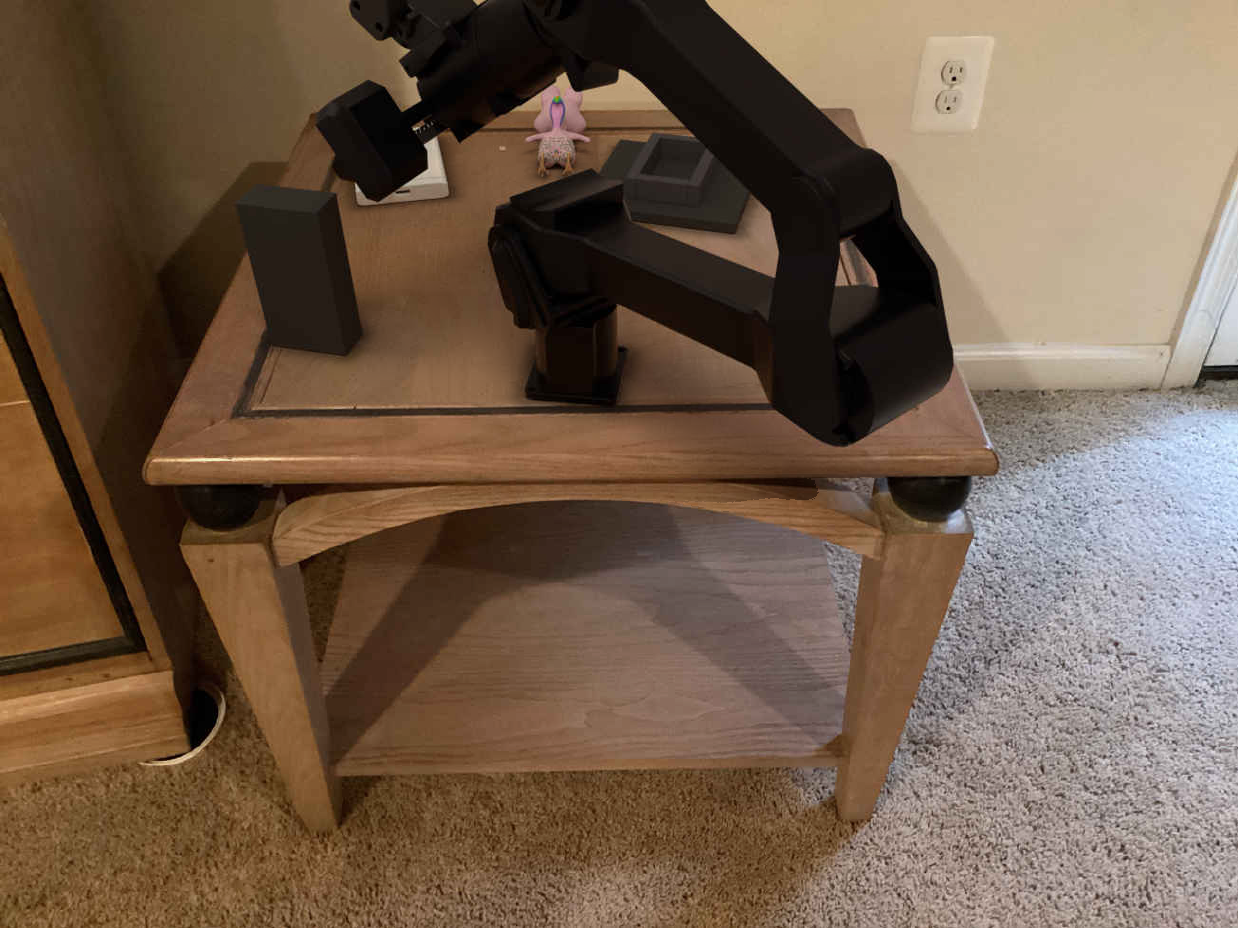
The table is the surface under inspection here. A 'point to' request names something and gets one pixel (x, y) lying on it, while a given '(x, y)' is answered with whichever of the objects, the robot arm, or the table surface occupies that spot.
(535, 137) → the rabbit figure
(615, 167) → the base pad
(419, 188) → the hard drive
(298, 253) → the black tall block
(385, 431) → the table surface
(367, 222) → the table surface
